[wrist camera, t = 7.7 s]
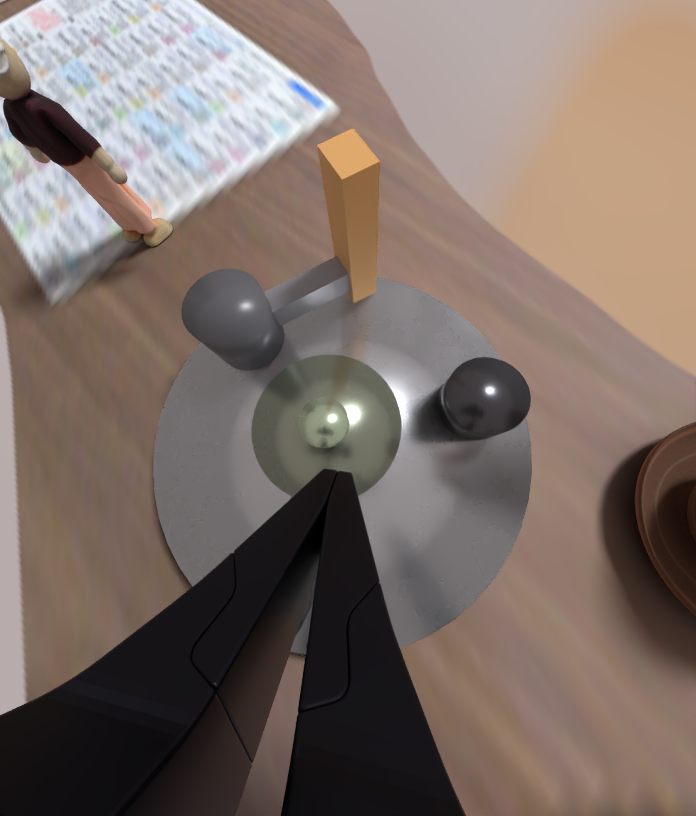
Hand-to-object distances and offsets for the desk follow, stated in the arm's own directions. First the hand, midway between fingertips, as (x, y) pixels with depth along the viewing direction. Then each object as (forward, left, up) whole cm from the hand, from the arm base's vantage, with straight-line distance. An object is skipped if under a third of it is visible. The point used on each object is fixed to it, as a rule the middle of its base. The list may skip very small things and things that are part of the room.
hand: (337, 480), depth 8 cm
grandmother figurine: (0, +29, -10) cm, 31 cm away
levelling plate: (+1, +3, -10) cm, 11 cm away
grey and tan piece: (+4, +11, -9) cm, 15 cm away
